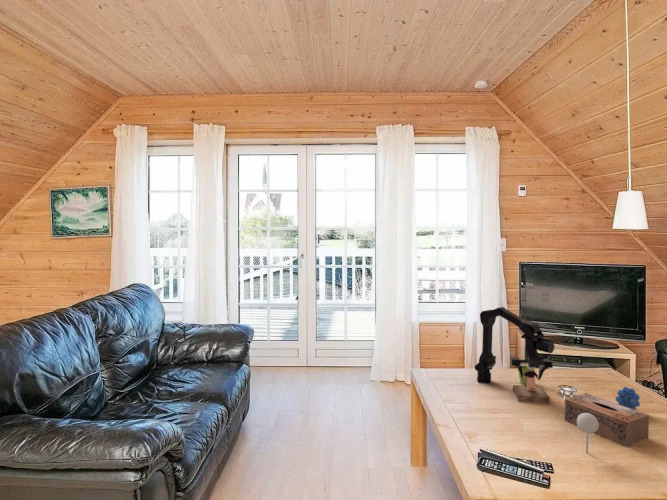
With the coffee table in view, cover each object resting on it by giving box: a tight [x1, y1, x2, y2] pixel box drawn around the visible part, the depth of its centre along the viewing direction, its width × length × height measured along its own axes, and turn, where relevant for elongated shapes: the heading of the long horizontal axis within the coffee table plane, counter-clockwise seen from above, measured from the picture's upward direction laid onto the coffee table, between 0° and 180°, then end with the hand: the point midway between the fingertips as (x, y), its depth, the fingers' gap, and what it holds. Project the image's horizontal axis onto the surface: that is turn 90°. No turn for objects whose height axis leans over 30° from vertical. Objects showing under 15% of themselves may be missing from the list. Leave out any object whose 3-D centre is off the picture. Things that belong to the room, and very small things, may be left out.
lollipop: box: [577, 413, 599, 454], centre depth 160 cm, size 7×7×15 cm
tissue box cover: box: [564, 392, 650, 448], centre depth 179 cm, size 26×14×10 cm, turn 27°
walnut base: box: [512, 384, 551, 404], centre depth 214 cm, size 14×14×3 cm
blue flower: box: [615, 386, 641, 411], centre depth 194 cm, size 12×7×12 cm, turn 96°
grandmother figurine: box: [523, 364, 540, 390], centre depth 213 cm, size 8×4×13 cm, turn 92°
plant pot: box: [516, 364, 537, 386], centre depth 232 cm, size 9×9×9 cm
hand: (530, 379), depth 214 cm, fingers closed on grandmother figurine, 8 cm apart
